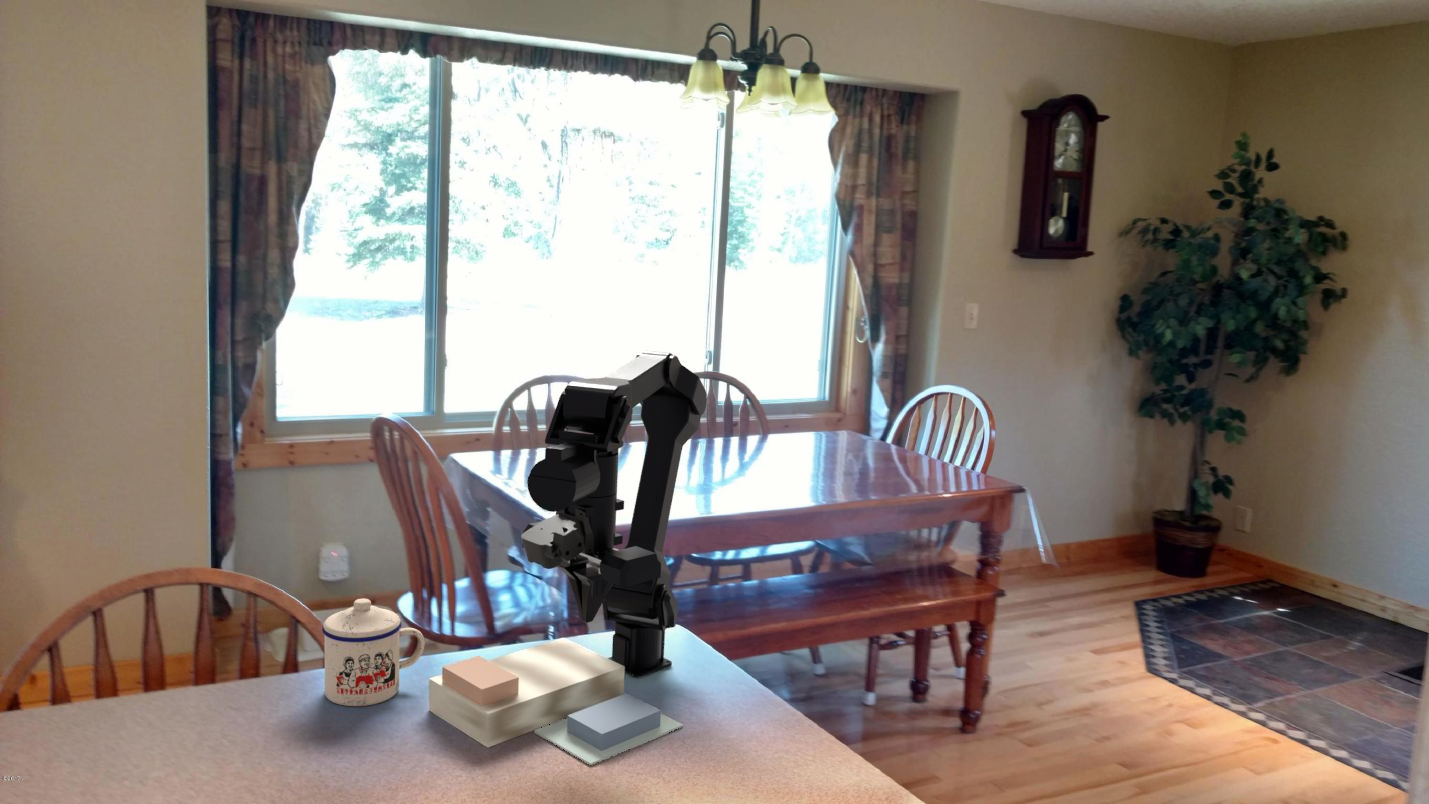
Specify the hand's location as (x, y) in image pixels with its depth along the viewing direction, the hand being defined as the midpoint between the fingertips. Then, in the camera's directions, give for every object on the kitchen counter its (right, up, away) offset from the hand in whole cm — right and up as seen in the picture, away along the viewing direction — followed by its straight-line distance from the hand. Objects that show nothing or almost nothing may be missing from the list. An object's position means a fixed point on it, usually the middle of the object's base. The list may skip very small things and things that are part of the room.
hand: (587, 621), depth 125 cm
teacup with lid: (-27, -10, +6) cm, 29 cm away
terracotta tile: (-12, -8, -1) cm, 14 cm away
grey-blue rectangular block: (+3, -10, -2) cm, 11 cm away
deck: (-8, -11, +5) cm, 14 cm away
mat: (+3, -12, -1) cm, 13 cm away
